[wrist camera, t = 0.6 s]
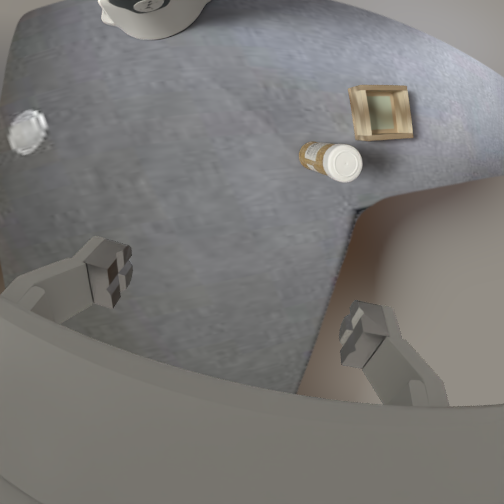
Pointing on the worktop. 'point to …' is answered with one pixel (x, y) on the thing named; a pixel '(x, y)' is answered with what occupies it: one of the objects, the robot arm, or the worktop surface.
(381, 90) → the box
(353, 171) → the sprinkles bottle
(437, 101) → the worktop surface
